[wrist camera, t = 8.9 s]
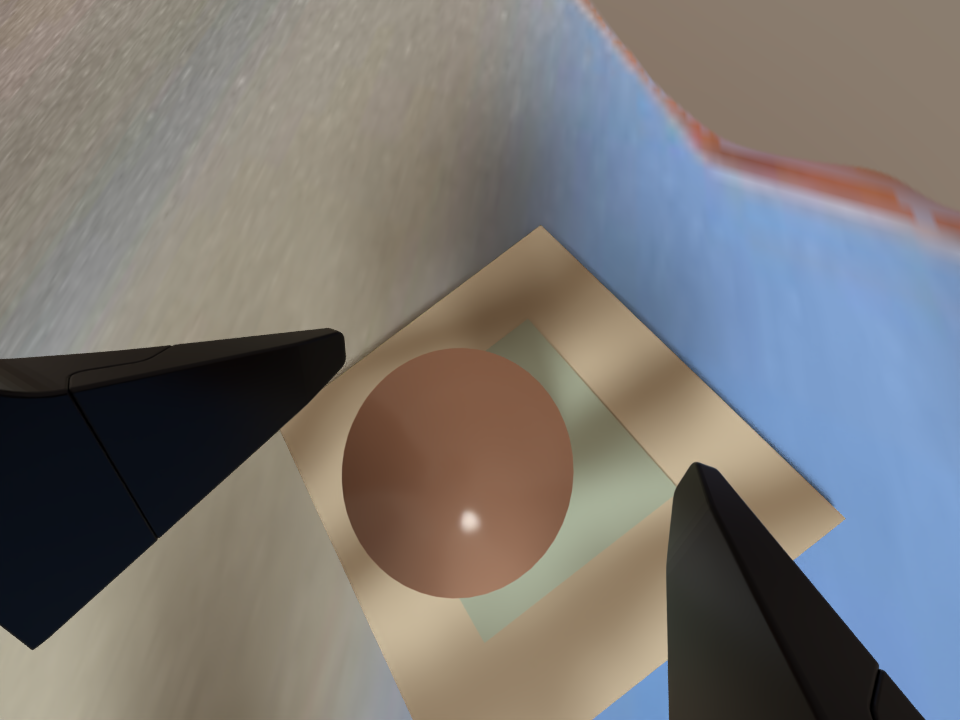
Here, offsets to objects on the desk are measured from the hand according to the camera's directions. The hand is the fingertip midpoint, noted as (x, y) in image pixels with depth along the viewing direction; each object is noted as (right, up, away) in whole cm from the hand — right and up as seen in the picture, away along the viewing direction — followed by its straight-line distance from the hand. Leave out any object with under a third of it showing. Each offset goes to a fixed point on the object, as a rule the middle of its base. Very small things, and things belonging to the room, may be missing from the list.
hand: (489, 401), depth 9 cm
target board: (+1, -4, +8) cm, 9 cm away
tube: (+1, -4, +7) cm, 8 cm away
